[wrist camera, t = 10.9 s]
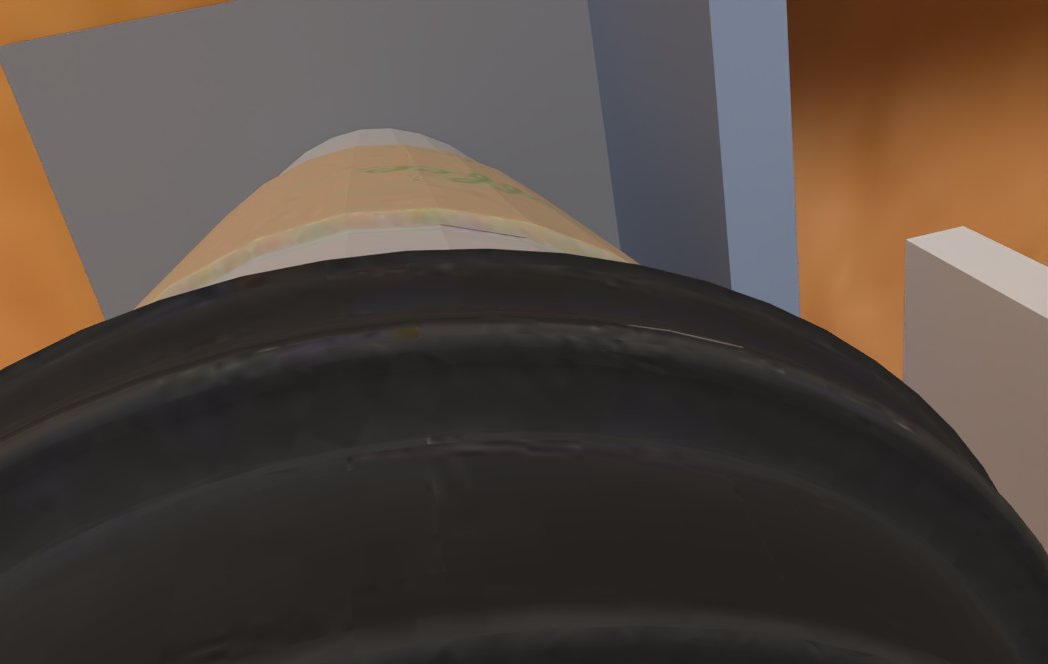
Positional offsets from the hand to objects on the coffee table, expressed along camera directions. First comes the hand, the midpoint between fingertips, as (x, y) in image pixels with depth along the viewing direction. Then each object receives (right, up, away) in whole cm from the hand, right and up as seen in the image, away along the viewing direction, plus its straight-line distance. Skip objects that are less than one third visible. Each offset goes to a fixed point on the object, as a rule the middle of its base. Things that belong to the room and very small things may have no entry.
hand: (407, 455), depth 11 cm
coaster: (-2, +3, +8) cm, 9 cm away
